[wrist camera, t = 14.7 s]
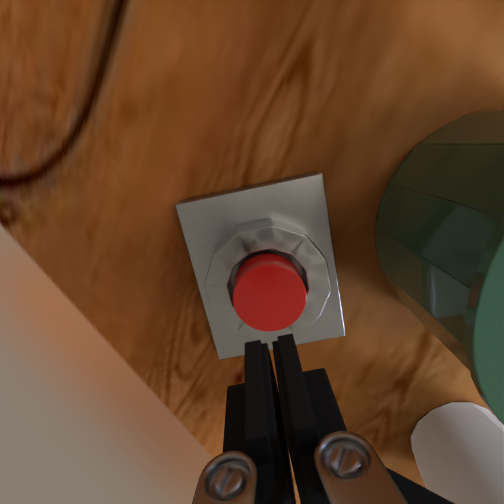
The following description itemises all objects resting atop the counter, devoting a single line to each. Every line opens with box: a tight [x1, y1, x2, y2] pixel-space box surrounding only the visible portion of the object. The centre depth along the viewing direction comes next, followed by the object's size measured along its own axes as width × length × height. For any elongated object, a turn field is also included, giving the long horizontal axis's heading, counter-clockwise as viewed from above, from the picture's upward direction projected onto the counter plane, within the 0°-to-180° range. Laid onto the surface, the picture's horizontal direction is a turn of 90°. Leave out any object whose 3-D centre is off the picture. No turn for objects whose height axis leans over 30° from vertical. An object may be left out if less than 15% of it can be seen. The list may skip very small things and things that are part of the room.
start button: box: [233, 253, 307, 331], centre depth 17 cm, size 4×4×2 cm
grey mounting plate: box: [176, 172, 345, 359], centre depth 19 cm, size 10×8×3 cm
